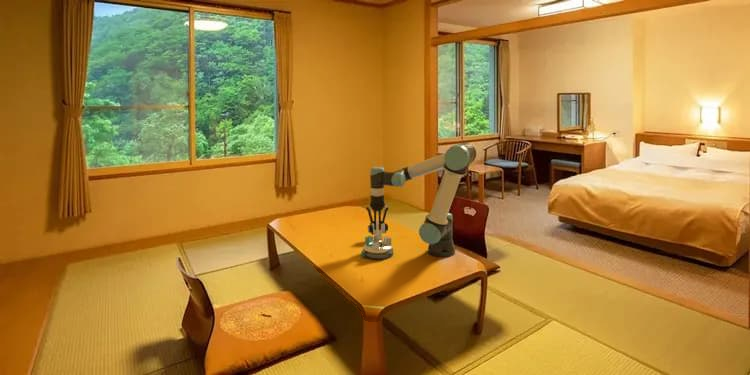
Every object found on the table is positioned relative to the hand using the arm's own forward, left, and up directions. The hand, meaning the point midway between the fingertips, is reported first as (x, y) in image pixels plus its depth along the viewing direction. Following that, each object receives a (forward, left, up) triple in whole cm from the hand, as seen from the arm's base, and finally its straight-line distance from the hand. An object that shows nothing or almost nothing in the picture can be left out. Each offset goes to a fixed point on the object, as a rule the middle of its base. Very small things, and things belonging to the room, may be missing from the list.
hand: (377, 235), depth 239 cm
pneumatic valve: (+11, -15, -10) cm, 21 cm away
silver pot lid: (-4, +5, -9) cm, 11 cm away
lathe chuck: (-4, +5, -6) cm, 9 cm away
